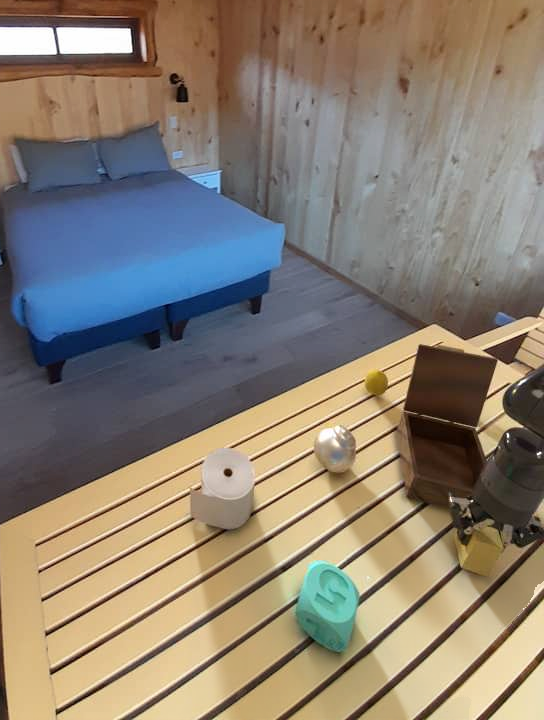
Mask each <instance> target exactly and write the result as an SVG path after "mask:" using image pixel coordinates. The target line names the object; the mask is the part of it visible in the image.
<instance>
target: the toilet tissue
mask: <svg viewBox="0 0 544 720" xmlns="http://www.w3.org/2000/svg"><path fill="white" fill-rule="evenodd" d="M200 475H201V476H200V477H201V481H200V482H201V485H200V492H199V491H198V490H196V489H194V488H192V487H189V496H190V497H189V506H190V508H189V509H190V511H189V513H190V514H189V515H190V516H191V517H192V518H193V519H195V520H196V521H198V522H200V523H203V524H205V525H209V526H212V527H215V528H220V529H223V530H236V529H238V528H240V527H241V526H243V525H245V524H246V522H247V521H248V520H249V518H250V517H251V514H252V511H253V503H254V502H253V501H254V495H255V494H254V493H255V483H256V472H255V468H254V464H253V463H252V462H251V459H249V457H248V456H247V455H246V454H244V453H243V452H241V451H240V450H239V449H236V448H232V447H220V448H218V449H215V450H212V451H211V452H209V454H208V455H207V456H206V457H205V458H204V461H203V462H202V465H201V469H200Z"/></svg>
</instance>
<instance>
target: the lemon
mask: <svg viewBox="0 0 544 720" xmlns="http://www.w3.org/2000/svg"><path fill="white" fill-rule="evenodd" d="M388 385H389V379H388V377H387V374H386V373H385V372H384V371H382V370H380V369H372V370H370V371H368V373H366V375H365V378H364V386H365V389H366V391H367V392H368V393H369V394H371V395H373V396H382V395H383V394H384V393H386V391H387V390H388V388H389V387H388Z"/></svg>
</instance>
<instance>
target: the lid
mask: <svg viewBox="0 0 544 720" xmlns="http://www.w3.org/2000/svg"><path fill="white" fill-rule="evenodd" d="M498 361H499V360H498V358H496V357H492V356H486V355H480V354H475V353H469V352H465V349H463V348H458V347H453V346H447V345H443V344H442V345H441V344H437V346H432V345H427V344H421V343H418V346H417V349H416V354H415V357H414V361H413V362H414V363H413V366H412V370H411V375H410V378H409V383H408V387H407V390H406V395H405V399H404V402H403V408H402V410H403V411H405V412H409V413H413V414H417V415H422V416H426V417H430V418H434V419H439V420H443V421H447V422H451V423H456V424H460V425H464V426H468V427H473V428H478V425H479V422H480V420H481V419H480V418H481V416H482V412H483V409H484V406H485V403H486V399H487V397H488V393H489V390H490V387H491V384H492V381H493V377H494V375H495V372H496V367H497V364H498Z"/></svg>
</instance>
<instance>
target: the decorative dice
mask: <svg viewBox="0 0 544 720" xmlns="http://www.w3.org/2000/svg"><path fill="white" fill-rule="evenodd" d="M360 595H361V594H360V592H359V589H358V587H357V586H356V584H355V582H354V581H353V580H352V578H351V577H350V576H349V575H348V574H347V573H346V572H344V571H343V570H342V569H340V568H339V567H337V565H336V566H335V565H334V564H332V563H330V562H327V561H323V560H314V561H311V562H310V563H309V566H308V568H307V571H306V574H305V576H304V580H303V583H302V587H301V589H300V594H299V596H298V600H297V604H296V607H295V611H294V615H295V618H296V621H297V623H298V624H299V626H300V627H301V628H302V630H303V631H304V632H305V633H306V634H307V635H308V636H309V637H311V639H313V640H314V641H315V642H317V643H318V644H319V645H321V646H323V647H324V648H326V649H328V650H331V651H333V652H337V653H341V652H346V651H347V648H348V646H349V644H350V643H349V642H350V639H351V636H352V632H353V629H354V624H355V620H356V616H357V612H358V608H359V607H358V606H359V601H360V597H361V596H360Z"/></svg>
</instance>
